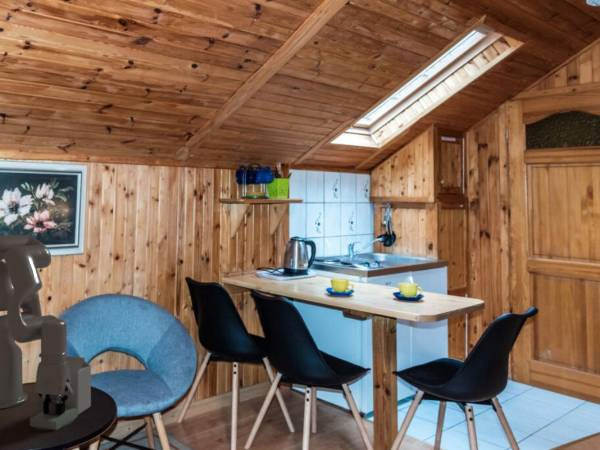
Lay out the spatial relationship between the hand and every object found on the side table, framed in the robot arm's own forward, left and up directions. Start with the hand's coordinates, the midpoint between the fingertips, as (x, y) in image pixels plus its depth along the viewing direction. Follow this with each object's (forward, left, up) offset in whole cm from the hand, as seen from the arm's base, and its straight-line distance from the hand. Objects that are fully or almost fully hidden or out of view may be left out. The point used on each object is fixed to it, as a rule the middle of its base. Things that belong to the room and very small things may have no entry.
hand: (54, 412), depth 158 cm
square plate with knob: (0, 0, -3) cm, 3 cm away
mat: (0, 0, -4) cm, 4 cm away
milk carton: (0, +10, -4) cm, 11 cm away
